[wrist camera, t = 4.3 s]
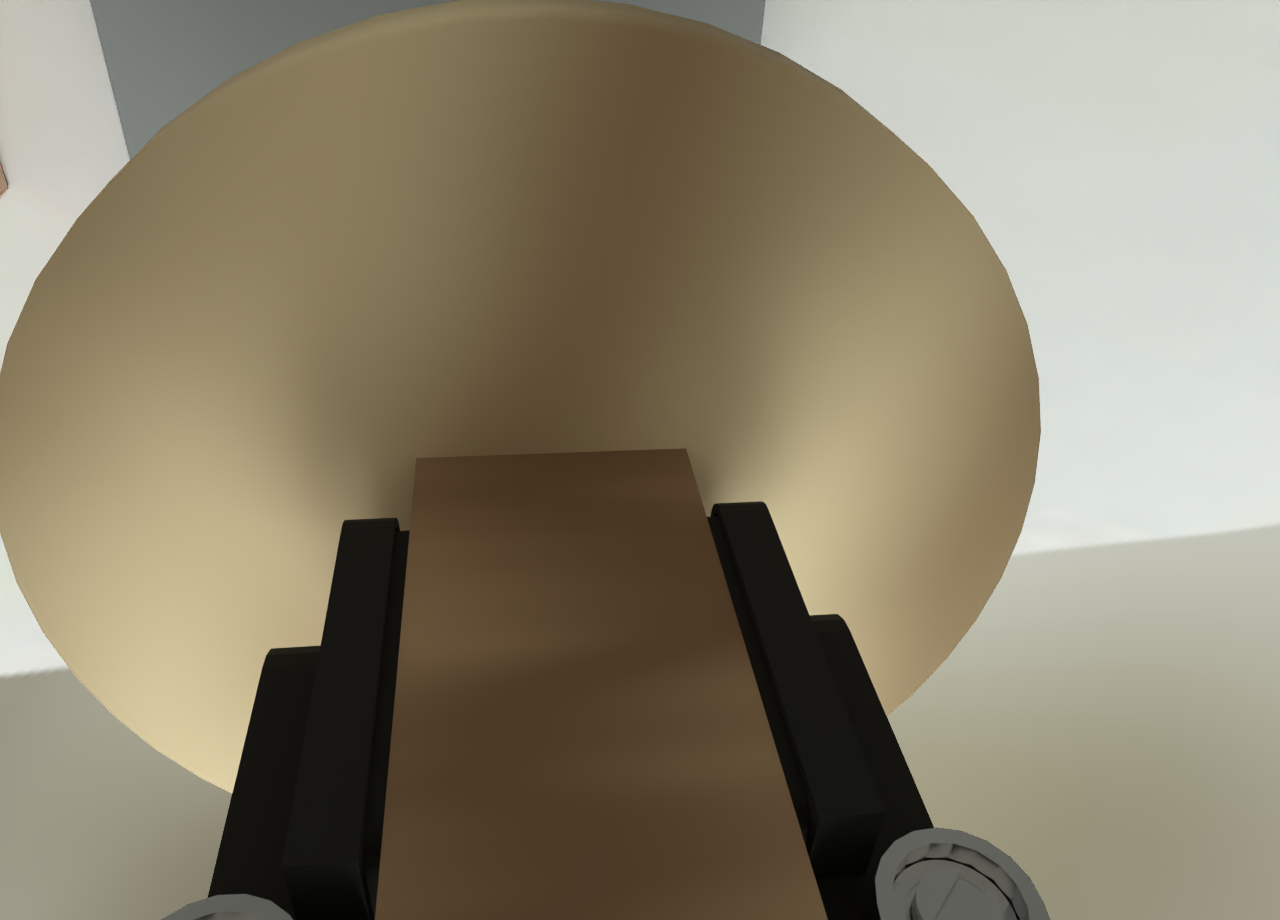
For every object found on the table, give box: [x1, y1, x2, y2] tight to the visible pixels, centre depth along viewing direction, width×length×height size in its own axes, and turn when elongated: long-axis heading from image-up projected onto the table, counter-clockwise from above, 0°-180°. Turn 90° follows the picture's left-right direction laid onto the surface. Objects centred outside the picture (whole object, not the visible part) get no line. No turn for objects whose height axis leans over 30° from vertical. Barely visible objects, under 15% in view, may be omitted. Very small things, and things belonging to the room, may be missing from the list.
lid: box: [0, 0, 1041, 920], centre depth 10 cm, size 12×12×7 cm
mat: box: [90, 0, 765, 160], centre depth 20 cm, size 12×12×1 cm
